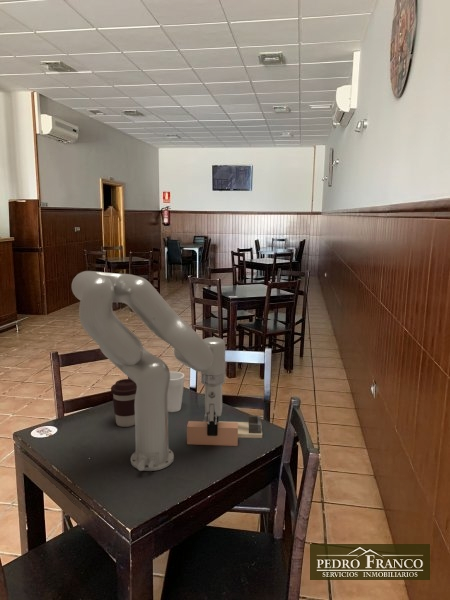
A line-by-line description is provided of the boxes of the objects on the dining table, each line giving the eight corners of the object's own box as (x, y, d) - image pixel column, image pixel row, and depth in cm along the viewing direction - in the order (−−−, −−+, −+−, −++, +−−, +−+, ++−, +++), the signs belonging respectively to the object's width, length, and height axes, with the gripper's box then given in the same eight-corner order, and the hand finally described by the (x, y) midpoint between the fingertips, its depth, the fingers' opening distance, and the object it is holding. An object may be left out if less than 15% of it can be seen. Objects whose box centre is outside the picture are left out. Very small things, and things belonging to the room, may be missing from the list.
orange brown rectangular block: (237, 445, 140) (237, 428, 139) (187, 444, 141) (186, 426, 140) (237, 439, 144) (237, 422, 143) (188, 438, 145) (188, 421, 144)
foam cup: (189, 407, 169) (189, 374, 167) (174, 415, 161) (174, 381, 159) (170, 401, 174) (169, 370, 172) (154, 410, 166) (154, 376, 164)
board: (262, 438, 145) (262, 426, 144) (201, 436, 146) (201, 424, 145) (261, 425, 154) (261, 414, 153) (203, 424, 155) (203, 412, 154)
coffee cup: (125, 432, 148) (123, 389, 146) (106, 423, 154) (104, 382, 152) (147, 421, 156) (146, 381, 154) (128, 414, 162) (127, 375, 159)
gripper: (223, 387, 130) (223, 445, 133) (226, 368, 147) (225, 420, 150) (198, 386, 130) (198, 444, 134) (203, 368, 147) (203, 420, 150)
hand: (212, 431), depth 142 cm, fingers closed on orange brown rectangular block, 4 cm apart
